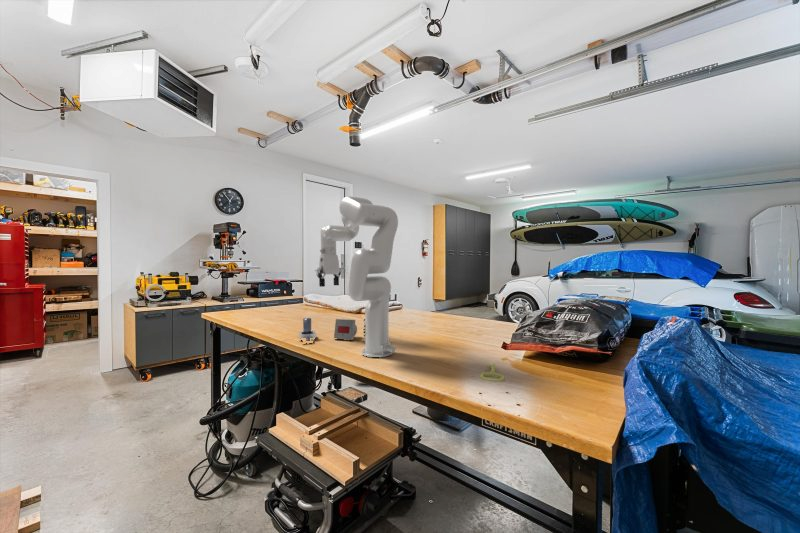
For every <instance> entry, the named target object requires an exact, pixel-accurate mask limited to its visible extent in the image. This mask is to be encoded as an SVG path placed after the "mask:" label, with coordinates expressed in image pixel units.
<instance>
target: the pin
mask: <svg viewBox="0 0 800 533" xmlns="http://www.w3.org/2000/svg"><path fill="white" fill-rule="evenodd" d="M302 327H303V328H302V331H303V334H311V330H312V318H311V317H304V318H302Z"/></svg>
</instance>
